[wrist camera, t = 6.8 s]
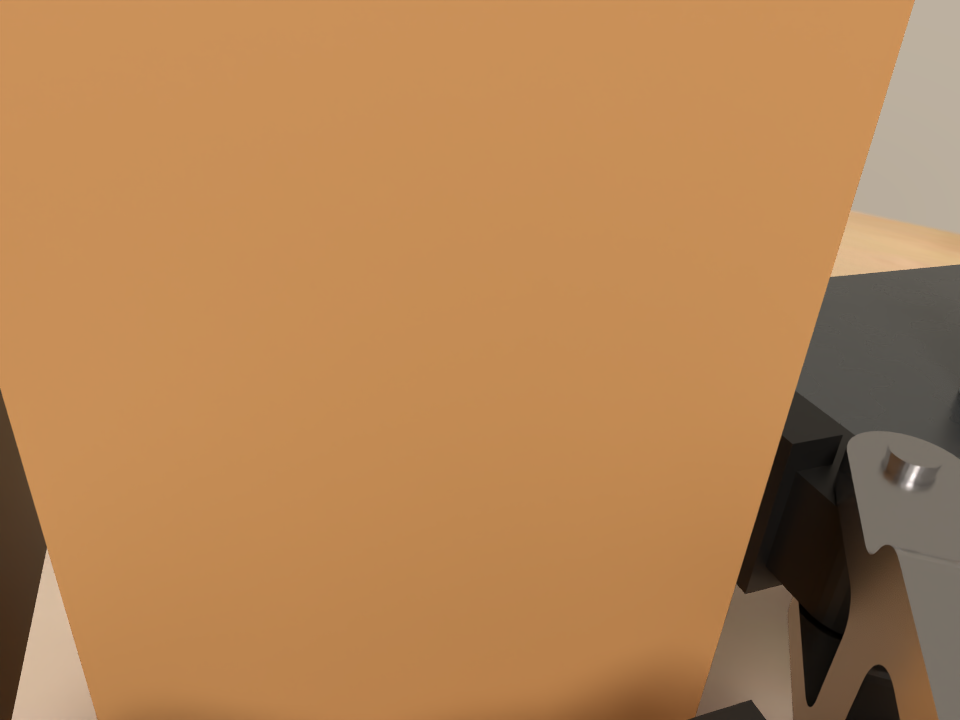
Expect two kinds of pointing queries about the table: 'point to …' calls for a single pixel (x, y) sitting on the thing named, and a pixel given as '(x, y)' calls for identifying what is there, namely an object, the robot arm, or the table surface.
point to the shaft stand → (889, 354)
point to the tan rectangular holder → (415, 335)
